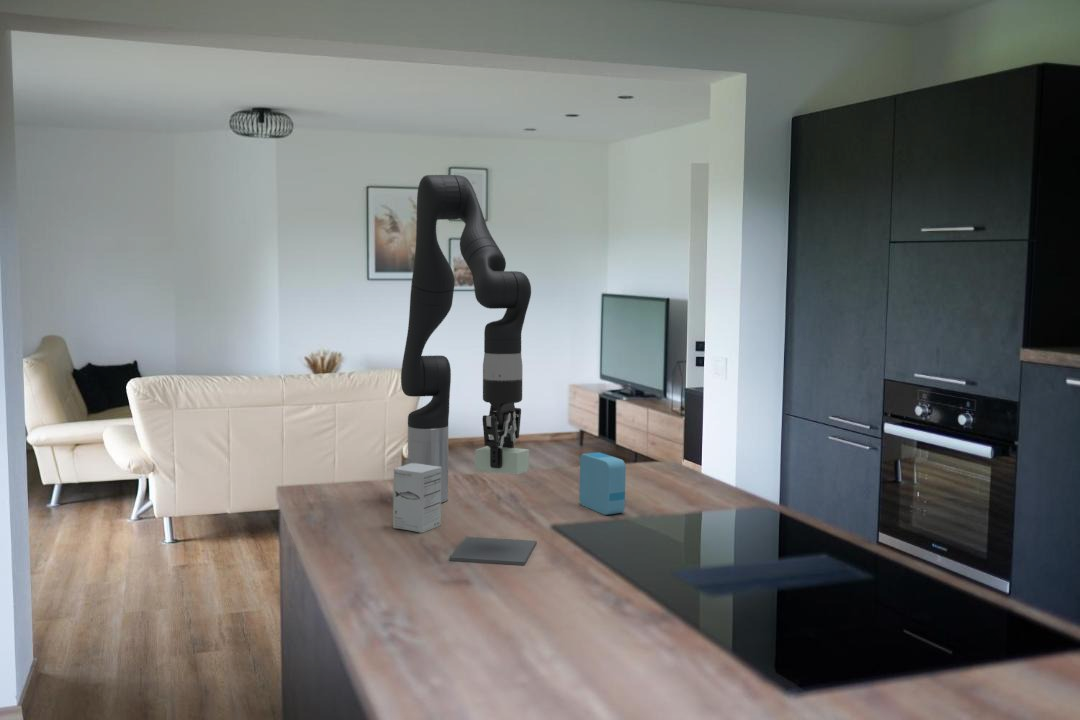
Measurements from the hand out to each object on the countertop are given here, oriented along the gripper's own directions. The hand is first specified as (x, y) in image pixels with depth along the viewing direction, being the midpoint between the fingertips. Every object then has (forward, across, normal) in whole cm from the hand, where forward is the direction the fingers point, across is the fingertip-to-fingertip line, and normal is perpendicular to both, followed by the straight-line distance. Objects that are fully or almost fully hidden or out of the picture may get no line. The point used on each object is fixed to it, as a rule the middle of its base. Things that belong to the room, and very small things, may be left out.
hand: (502, 464), depth 188 cm
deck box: (+1, 0, 0) cm, 1 cm away
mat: (+16, -3, 0) cm, 17 cm away
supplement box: (+16, +7, +22) cm, 28 cm away
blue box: (+16, +36, -9) cm, 41 cm away
